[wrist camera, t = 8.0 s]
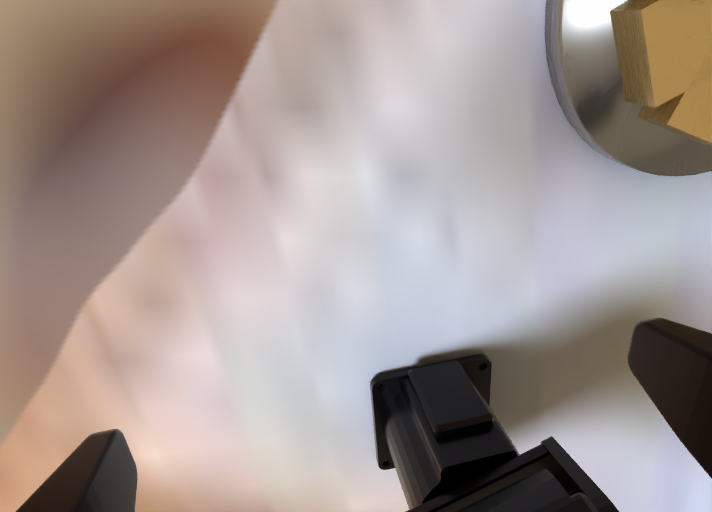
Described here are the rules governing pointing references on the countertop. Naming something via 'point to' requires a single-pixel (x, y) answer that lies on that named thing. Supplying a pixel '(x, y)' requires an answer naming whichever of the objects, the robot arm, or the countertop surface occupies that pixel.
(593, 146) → the round metal dish
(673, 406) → the robot arm
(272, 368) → the countertop surface
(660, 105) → the tan curved piece
